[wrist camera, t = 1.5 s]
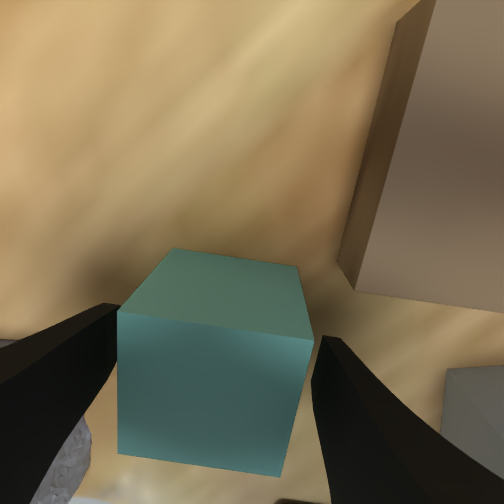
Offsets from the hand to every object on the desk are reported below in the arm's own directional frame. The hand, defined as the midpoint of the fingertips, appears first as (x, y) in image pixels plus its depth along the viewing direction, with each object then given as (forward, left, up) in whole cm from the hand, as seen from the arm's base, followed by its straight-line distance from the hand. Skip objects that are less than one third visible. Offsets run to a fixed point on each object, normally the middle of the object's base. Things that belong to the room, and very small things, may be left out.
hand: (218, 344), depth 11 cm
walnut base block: (+7, -8, -3) cm, 11 cm away
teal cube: (0, 0, -2) cm, 2 cm away
